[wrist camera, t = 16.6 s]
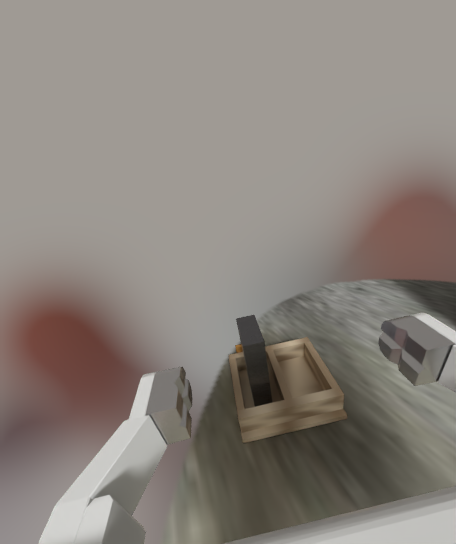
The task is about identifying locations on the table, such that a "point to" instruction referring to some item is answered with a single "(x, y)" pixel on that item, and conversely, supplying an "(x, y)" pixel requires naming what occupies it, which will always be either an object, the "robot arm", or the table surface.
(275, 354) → the wooden divided box
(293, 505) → the table surface
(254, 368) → the block
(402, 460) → the table surface
